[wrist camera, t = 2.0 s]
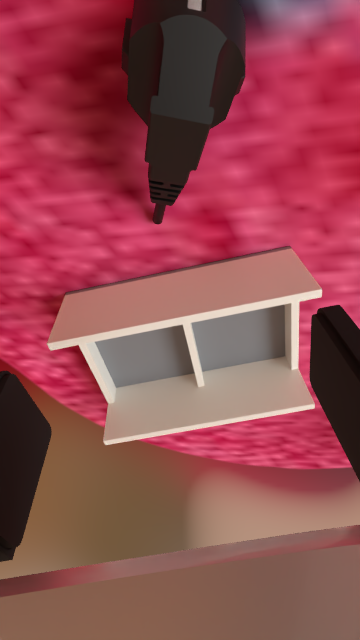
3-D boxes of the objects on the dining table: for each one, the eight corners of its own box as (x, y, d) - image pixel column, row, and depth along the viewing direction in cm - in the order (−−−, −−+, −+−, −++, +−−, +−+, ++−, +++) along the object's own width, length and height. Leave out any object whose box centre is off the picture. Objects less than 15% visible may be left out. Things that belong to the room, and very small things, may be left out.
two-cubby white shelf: (65, 292, 27) (46, 343, 22) (289, 246, 26) (321, 289, 21) (112, 389, 34) (105, 445, 29) (290, 356, 33) (314, 408, 28)
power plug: (115, 224, 23) (114, 44, 12) (126, 133, 25) (134, -95, 14) (196, 236, 24) (268, 78, 13) (200, 147, 26) (265, -57, 15)
